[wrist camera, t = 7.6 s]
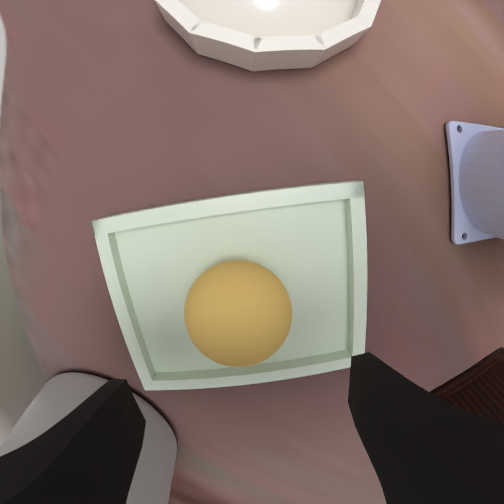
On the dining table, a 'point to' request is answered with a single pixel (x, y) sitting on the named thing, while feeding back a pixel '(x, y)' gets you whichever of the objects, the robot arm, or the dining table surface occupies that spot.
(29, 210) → the dining table surface
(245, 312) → the ball
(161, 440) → the cylinder vase
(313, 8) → the bowl
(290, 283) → the tray
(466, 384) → the brown manual coffee grinder
